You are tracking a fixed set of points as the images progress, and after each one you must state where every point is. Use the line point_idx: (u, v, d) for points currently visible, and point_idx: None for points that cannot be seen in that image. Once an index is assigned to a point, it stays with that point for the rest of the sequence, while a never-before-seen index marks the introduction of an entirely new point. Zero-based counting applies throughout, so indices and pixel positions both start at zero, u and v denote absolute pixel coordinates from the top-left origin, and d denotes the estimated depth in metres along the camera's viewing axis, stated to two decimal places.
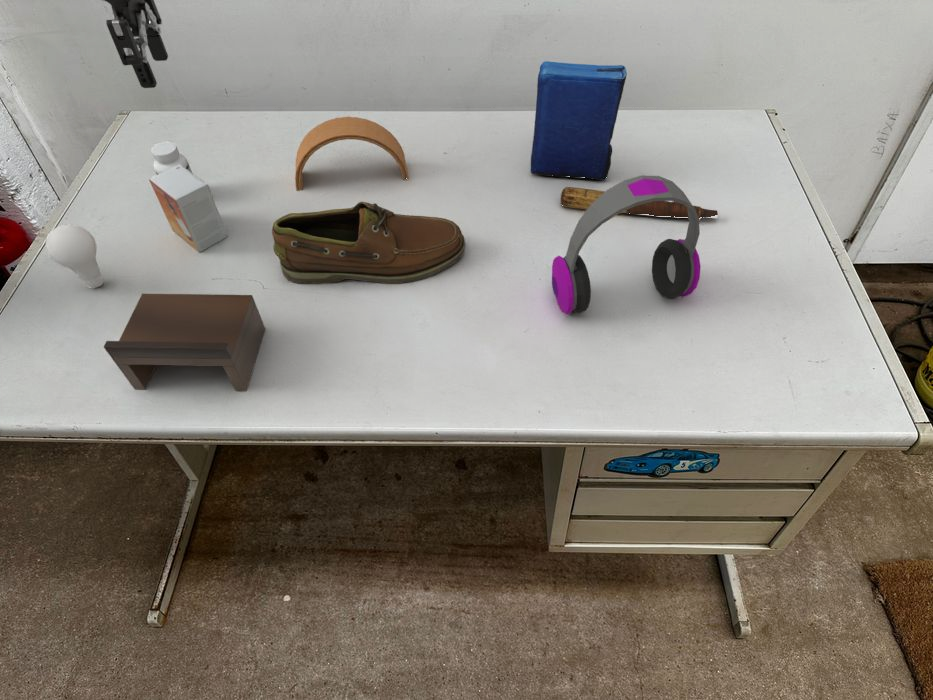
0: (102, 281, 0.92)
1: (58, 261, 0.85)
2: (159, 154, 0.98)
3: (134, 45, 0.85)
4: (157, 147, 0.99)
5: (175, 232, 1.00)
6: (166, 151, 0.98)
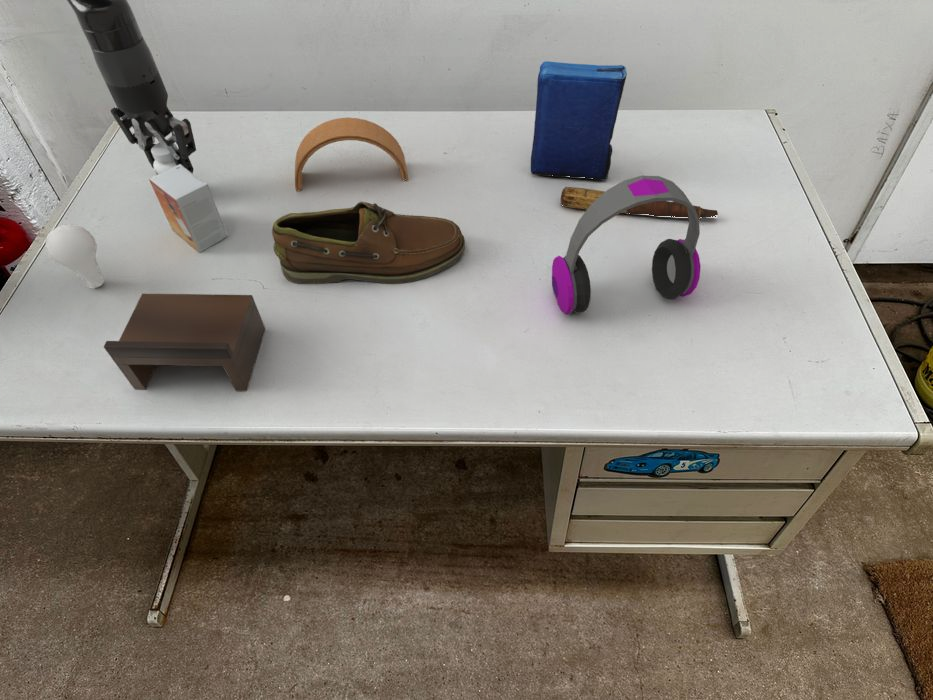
0: (102, 281, 0.92)
1: (58, 261, 0.85)
2: (159, 154, 0.98)
3: None
4: (157, 147, 0.99)
5: (175, 232, 1.00)
6: (166, 151, 0.98)
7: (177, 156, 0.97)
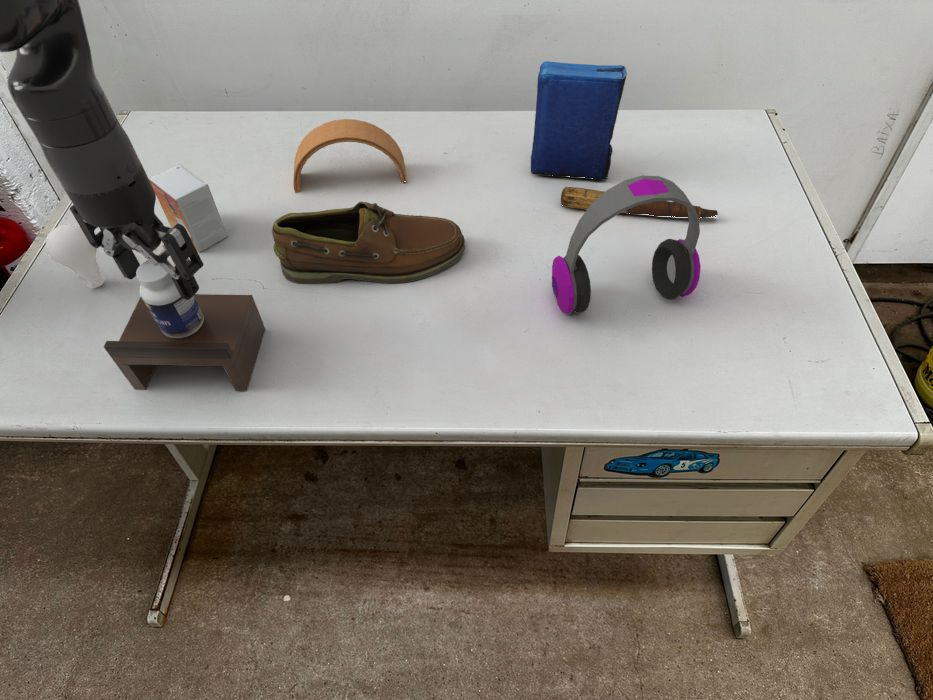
0: (102, 281, 0.92)
1: (58, 261, 0.85)
2: (147, 280, 0.70)
3: None
4: (144, 267, 0.71)
5: None
6: (157, 275, 0.70)
7: (176, 275, 0.68)
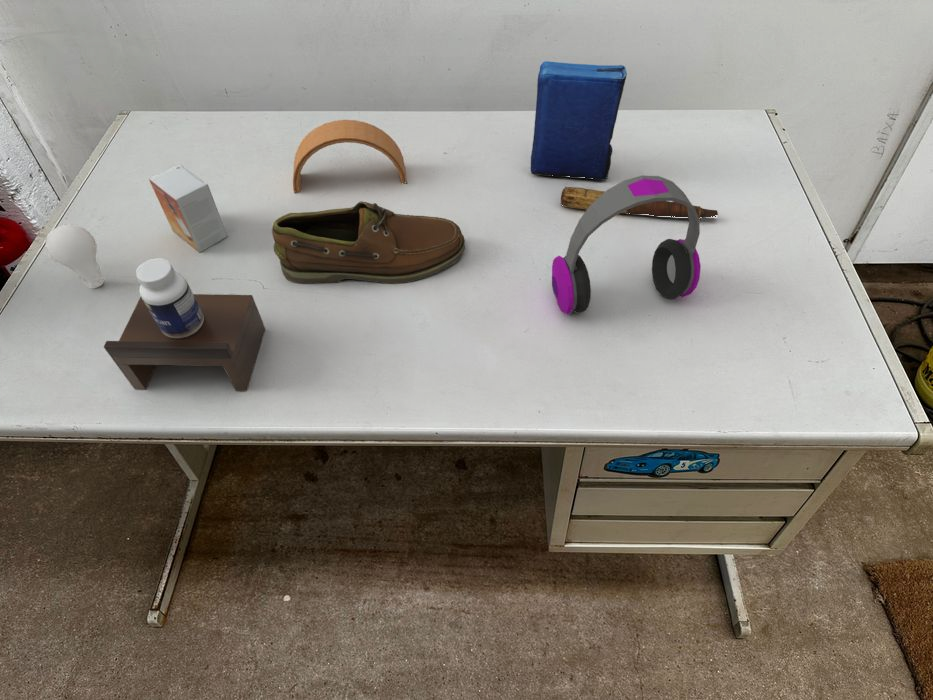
0: (102, 281, 0.92)
1: (58, 261, 0.85)
2: (147, 280, 0.70)
3: None
4: (144, 267, 0.71)
5: (175, 232, 1.00)
6: (157, 275, 0.70)
7: None
